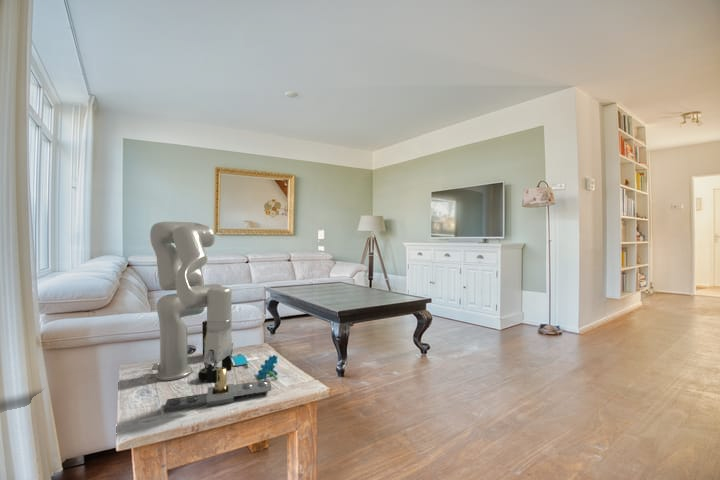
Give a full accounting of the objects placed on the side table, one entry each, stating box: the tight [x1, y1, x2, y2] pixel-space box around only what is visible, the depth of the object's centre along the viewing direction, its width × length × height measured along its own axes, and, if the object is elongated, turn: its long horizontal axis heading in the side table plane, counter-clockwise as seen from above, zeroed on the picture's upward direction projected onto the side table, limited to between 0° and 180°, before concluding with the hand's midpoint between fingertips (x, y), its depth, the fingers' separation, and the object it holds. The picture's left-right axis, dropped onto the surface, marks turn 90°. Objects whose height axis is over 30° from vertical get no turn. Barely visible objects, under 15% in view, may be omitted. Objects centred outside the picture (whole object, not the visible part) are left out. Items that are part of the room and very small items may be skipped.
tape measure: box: [197, 366, 219, 382], centre depth 131 cm, size 7×7×4 cm
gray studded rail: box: [163, 379, 272, 413], centre depth 114 cm, size 32×8×4 cm, turn 110°
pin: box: [214, 366, 228, 394], centre depth 114 cm, size 4×4×10 cm
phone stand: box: [231, 353, 260, 369], centre depth 151 cm, size 20×12×2 cm, turn 28°
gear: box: [257, 354, 279, 380], centre depth 133 cm, size 11×6×10 cm
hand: (219, 376), depth 115 cm, fingers open, 9 cm apart
